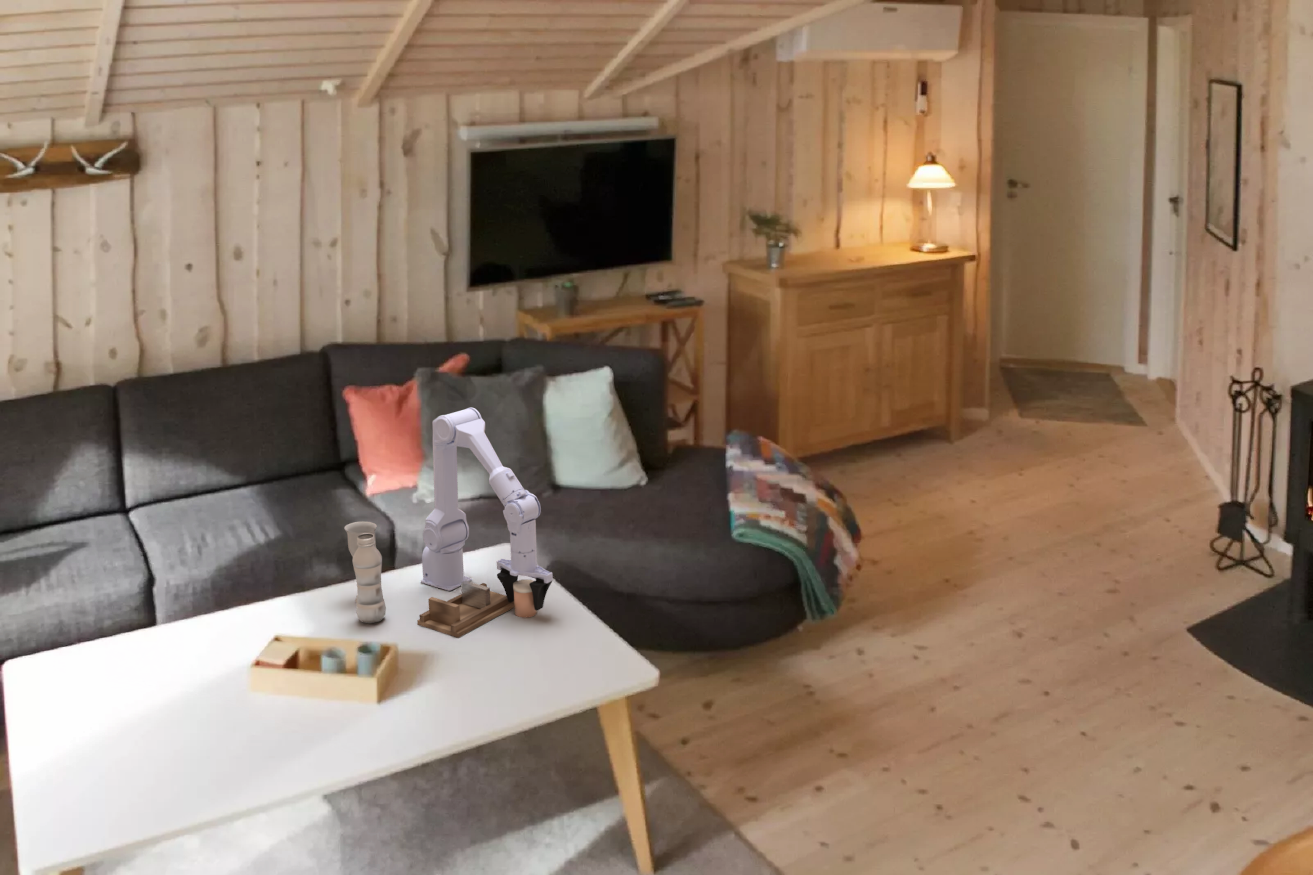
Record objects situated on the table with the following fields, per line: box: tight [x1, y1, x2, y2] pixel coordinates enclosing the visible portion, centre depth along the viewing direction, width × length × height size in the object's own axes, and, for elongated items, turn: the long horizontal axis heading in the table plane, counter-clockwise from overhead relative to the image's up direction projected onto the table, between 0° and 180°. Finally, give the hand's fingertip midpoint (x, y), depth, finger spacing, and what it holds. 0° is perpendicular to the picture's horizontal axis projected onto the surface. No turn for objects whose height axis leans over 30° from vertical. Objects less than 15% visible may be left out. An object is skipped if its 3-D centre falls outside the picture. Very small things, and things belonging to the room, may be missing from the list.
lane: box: [416, 582, 515, 639], centre depth 295 cm, size 12×21×6 cm, turn 146°
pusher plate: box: [460, 581, 491, 609], centre depth 297 cm, size 7×2×5 cm, turn 56°
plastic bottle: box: [351, 533, 387, 624], centre depth 290 cm, size 6×7×20 cm
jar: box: [513, 579, 538, 618], centre depth 296 cm, size 5×5×7 cm
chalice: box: [344, 521, 378, 604], centre depth 301 cm, size 7×7×18 cm
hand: (525, 604), depth 296 cm, fingers open, 7 cm apart
